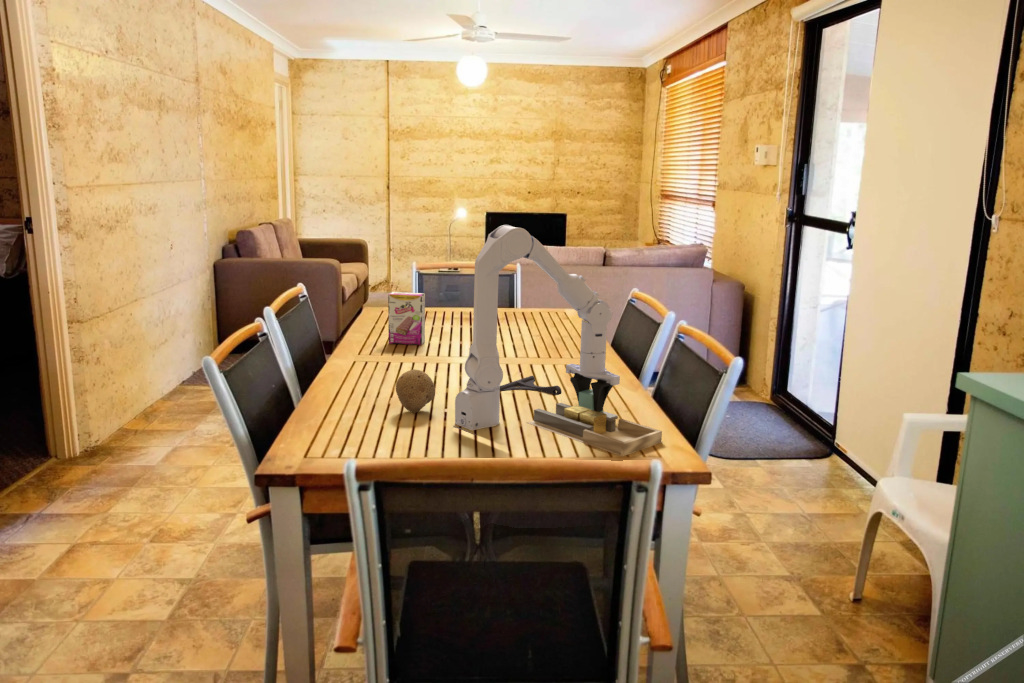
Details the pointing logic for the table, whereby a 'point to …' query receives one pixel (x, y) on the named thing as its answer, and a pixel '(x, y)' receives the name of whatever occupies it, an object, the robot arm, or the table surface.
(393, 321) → the candy bar box
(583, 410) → the golden brown cube
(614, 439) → the slot board
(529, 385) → the bracket
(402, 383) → the natural sponge
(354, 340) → the table surface
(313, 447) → the table surface
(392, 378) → the table surface
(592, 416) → the yellow cube
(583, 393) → the two-tone l-shaped block
